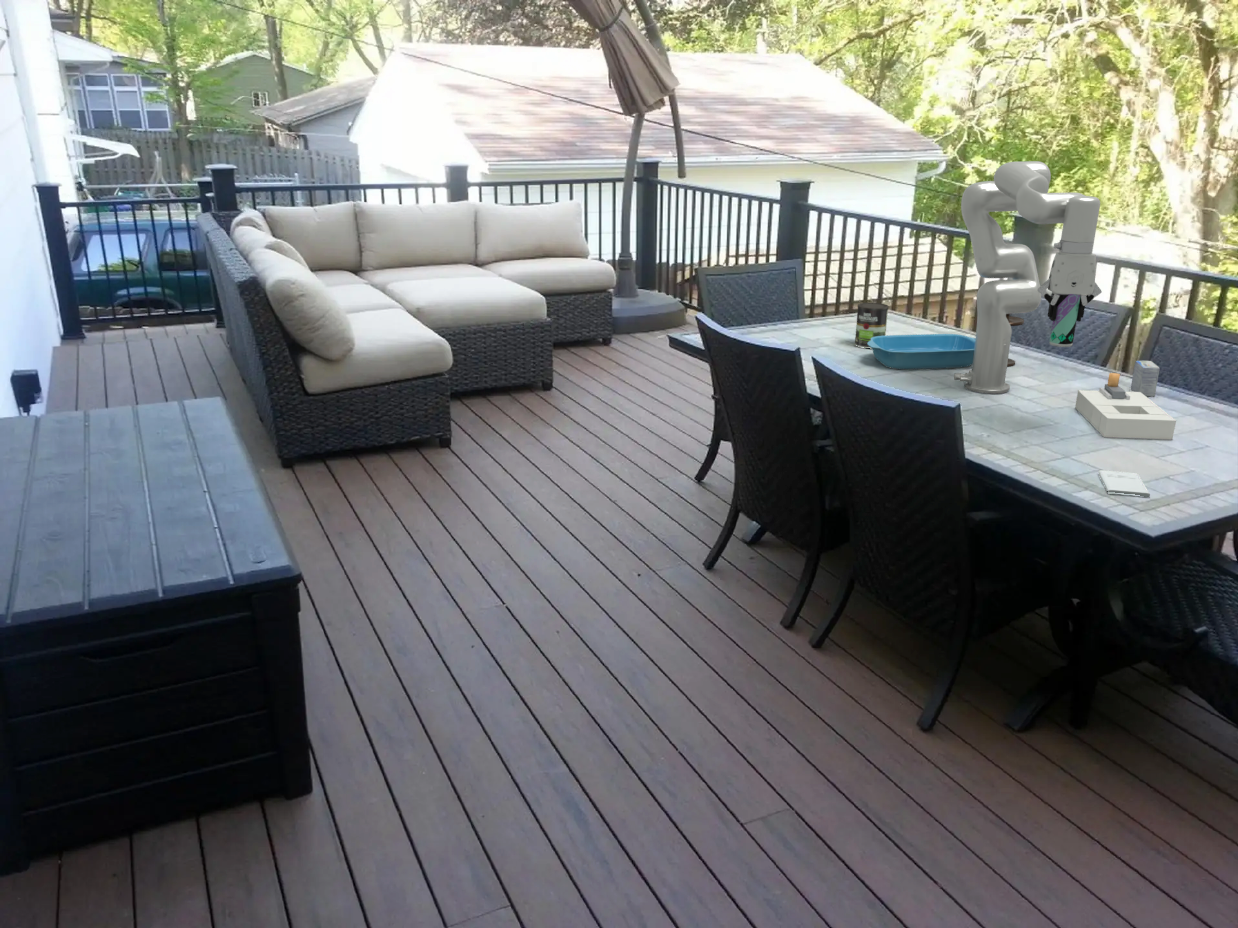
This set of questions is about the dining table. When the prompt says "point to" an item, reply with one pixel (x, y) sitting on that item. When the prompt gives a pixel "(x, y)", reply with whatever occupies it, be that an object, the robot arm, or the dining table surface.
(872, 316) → the coffee can
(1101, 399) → the block
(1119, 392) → the bar
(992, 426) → the dining table surface
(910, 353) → the casserole dish
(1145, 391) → the medicine box
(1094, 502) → the dining table surface
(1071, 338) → the spray can
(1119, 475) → the external hard drive
